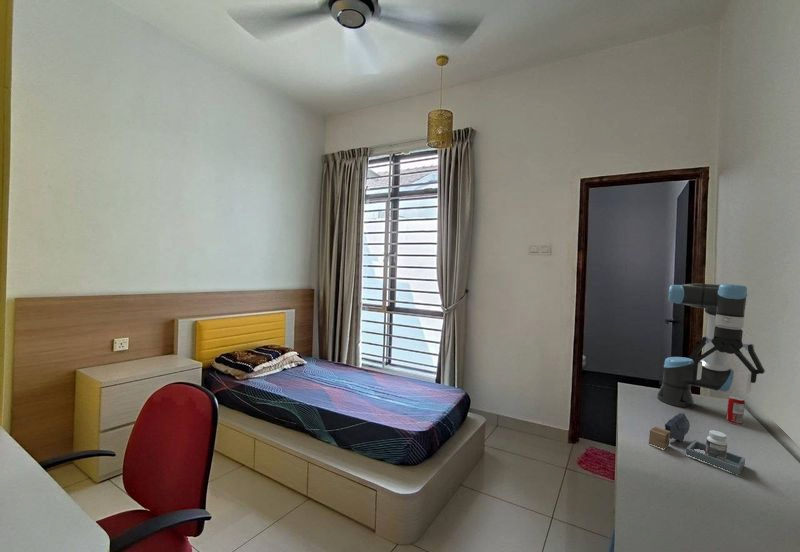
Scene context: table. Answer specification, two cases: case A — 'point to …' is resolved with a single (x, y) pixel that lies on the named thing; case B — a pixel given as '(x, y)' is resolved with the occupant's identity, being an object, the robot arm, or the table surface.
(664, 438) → the brown cube
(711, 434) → the pill bottle
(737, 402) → the soda can
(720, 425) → the table surface
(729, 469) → the tray
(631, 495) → the table surface
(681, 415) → the stone
